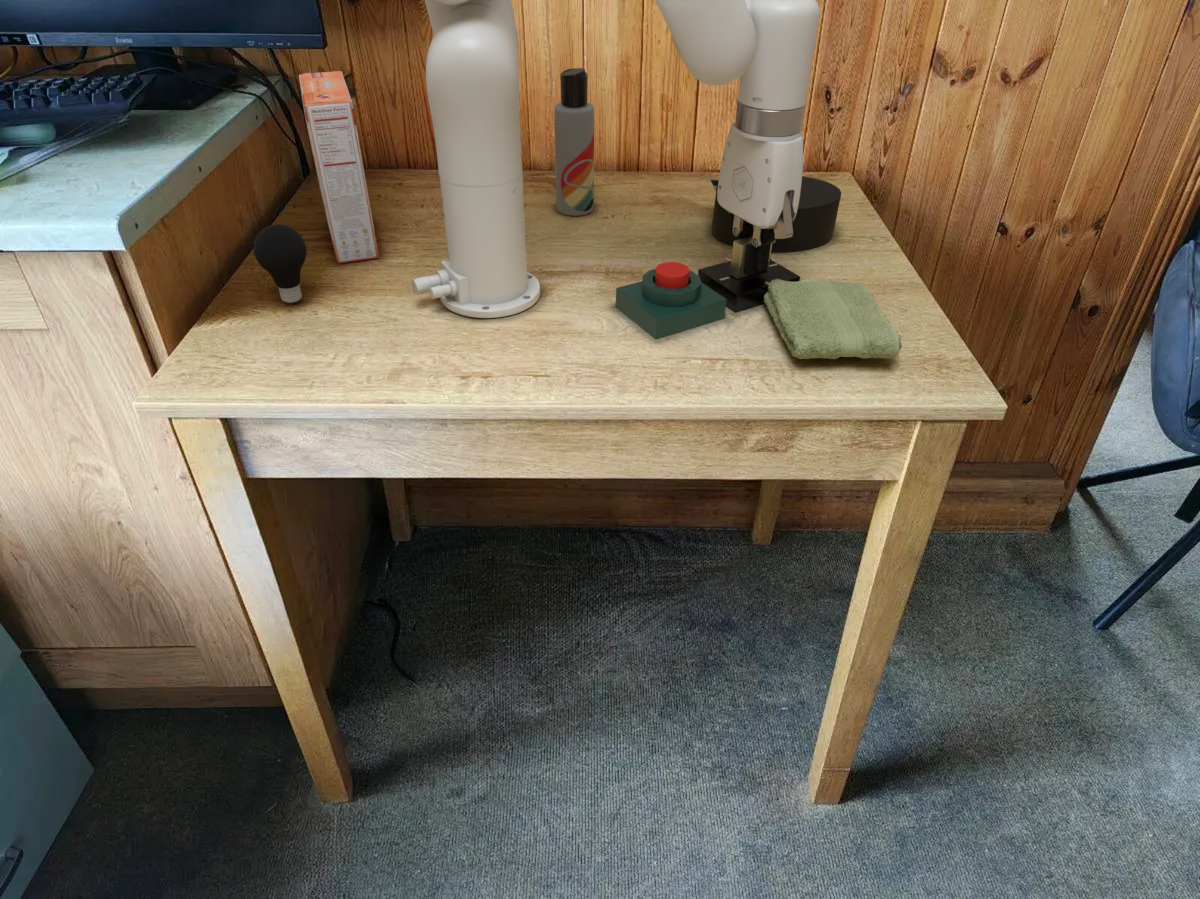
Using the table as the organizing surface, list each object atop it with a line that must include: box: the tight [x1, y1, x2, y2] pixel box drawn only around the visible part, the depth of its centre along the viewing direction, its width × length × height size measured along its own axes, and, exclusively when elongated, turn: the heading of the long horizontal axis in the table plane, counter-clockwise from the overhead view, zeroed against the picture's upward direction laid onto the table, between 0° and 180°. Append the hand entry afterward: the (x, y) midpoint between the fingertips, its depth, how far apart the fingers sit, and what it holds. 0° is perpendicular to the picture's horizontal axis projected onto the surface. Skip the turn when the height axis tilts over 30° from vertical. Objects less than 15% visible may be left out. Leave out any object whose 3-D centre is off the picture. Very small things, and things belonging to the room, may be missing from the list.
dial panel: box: [697, 257, 801, 314], centre depth 107 cm, size 10×9×3 cm
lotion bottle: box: [553, 67, 595, 217], centre depth 122 cm, size 6×6×20 cm
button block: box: [615, 268, 727, 340], centre depth 101 cm, size 10×9×4 cm
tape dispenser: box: [709, 175, 842, 253], centre depth 120 cm, size 14×18×8 cm
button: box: [655, 261, 690, 289], centre depth 99 cm, size 4×4×2 cm
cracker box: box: [298, 70, 380, 264], centre depth 111 cm, size 14×6×21 cm, turn 18°
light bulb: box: [253, 223, 308, 305], centre depth 100 cm, size 6×6×10 cm
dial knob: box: [730, 236, 772, 279], centre depth 104 cm, size 5×2×5 cm, turn 121°
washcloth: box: [764, 278, 903, 360], centre depth 98 cm, size 13×18×3 cm
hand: (749, 268), depth 105 cm, fingers closed
